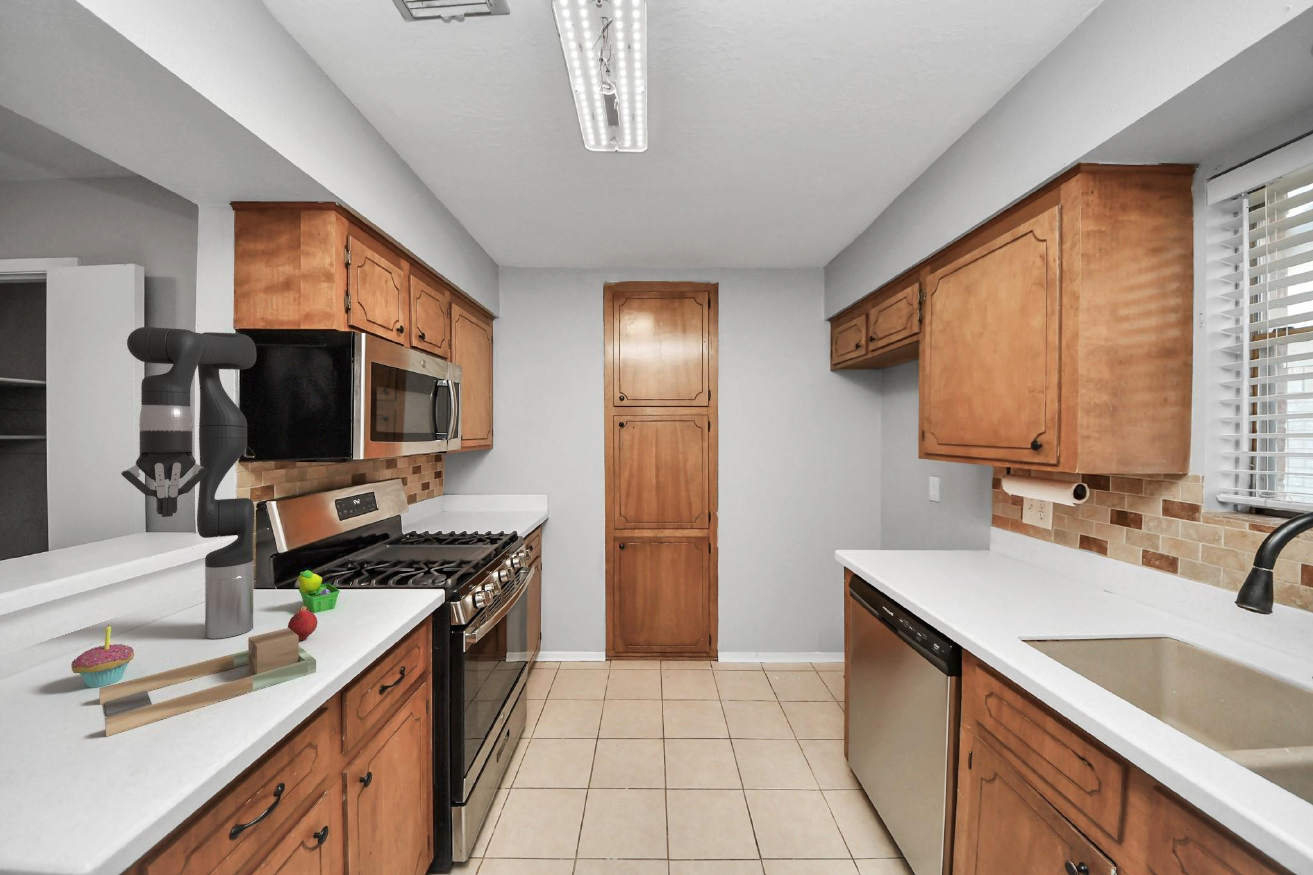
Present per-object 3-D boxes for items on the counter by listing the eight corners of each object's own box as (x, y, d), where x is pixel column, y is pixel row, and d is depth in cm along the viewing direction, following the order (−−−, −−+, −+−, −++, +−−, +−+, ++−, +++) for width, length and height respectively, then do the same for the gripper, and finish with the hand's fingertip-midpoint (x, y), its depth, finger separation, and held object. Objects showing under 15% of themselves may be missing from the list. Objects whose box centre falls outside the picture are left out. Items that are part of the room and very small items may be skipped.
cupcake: (144, 675, 103) (144, 617, 103) (86, 696, 95) (86, 632, 95) (118, 669, 106) (118, 612, 106) (60, 688, 98) (60, 627, 98)
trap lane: (99, 701, 93) (99, 688, 93) (291, 649, 116) (291, 639, 116) (106, 736, 82) (106, 721, 82) (316, 671, 105) (316, 659, 105)
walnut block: (248, 670, 106) (248, 637, 106) (288, 659, 111) (288, 627, 111) (257, 681, 101) (257, 646, 101) (298, 668, 107) (298, 635, 107)
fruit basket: (341, 608, 144) (341, 568, 144) (304, 616, 137) (304, 575, 137) (328, 600, 152) (328, 562, 152) (292, 607, 145) (292, 568, 145)
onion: (302, 646, 118) (302, 611, 118) (281, 644, 119) (281, 610, 119) (323, 636, 124) (323, 603, 124) (303, 634, 125) (303, 602, 125)
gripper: (206, 429, 108) (207, 510, 108) (116, 428, 98) (116, 518, 98) (214, 429, 103) (214, 514, 103) (119, 428, 93) (119, 522, 93)
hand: (166, 516), depth 100 cm, fingers closed
